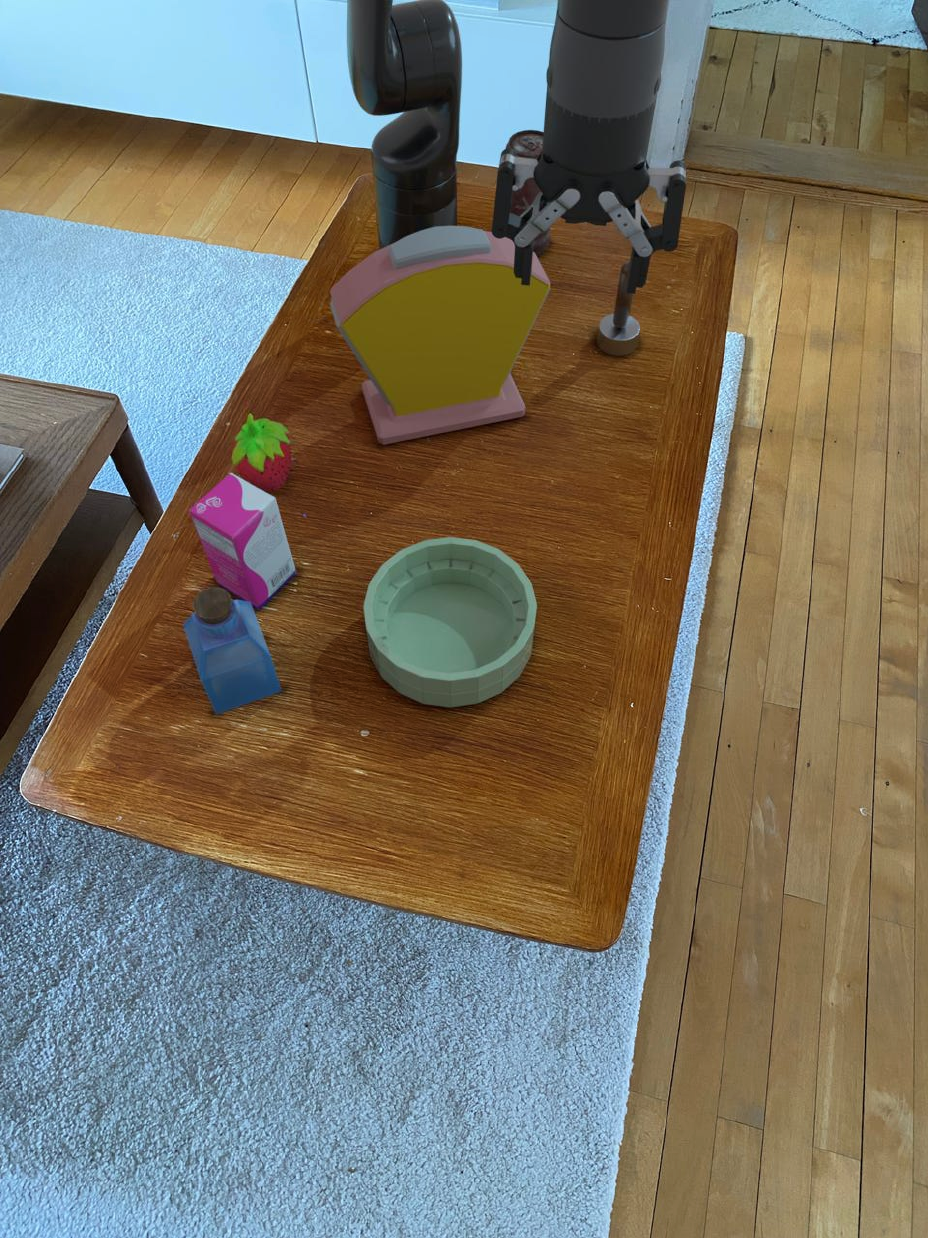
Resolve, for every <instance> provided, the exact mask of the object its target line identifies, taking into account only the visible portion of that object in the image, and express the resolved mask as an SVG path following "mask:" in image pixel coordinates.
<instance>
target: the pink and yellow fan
mask: <svg viewBox="0 0 928 1238" xmlns="http://www.w3.org/2000/svg"><path fill="white" fill-rule="evenodd" d="M514 256H515V244H514V242H513V241H512V240H511V239H509V238H506V237H504V238H501V239H498V238H495V237H494V236H493V235H492V231H487V230H483V229H481V228H476V227H472V226H464V225H457V226H437V227H432V228H429V229H425V230H421V231H419V232H416V233H414V234H411V235H409V236H406V237H404V238H402V239H401V240H399V241H397V242H395V243H393V244H391V245H389V246H387V247H384V248H382V249H380V250H379V249H377V250H375V251H374V252H372V253H370V254H369V255H367V257H365V258H364V259H363V260H361V261H360V262H359V263H357V264H356V265H355V266H353V267H352V268H351V269H349V270H348V271H347V272H346V273H345V274H344V275H343V276H342V277H341V278H340V279H339V280H338V281H337V282H336V283H335V284H334V285H333V286H331V288H330V290H329V293H330V297H331V299H330V302H329V307H330V309H331V312H332V316H333V319H334V322H335V326H336V328H337V329H338V331H339V333H340V334H341V336H342V338H343V339H344V341H345V342H346V344H347V345H348V347H349V349H350V351H352V353H353V354H354V357H355V358H356V359H357V361H358V363H359V364H360V365H361V367H362V369H363V370H364V371H365V373H366V375H367V376H368V377H369V379H368V380H365V381H363V382H362V383H361V388H362V390H361V391H362V393H363V396H364V400H365V403H366V407H367V409H368V412H369V415H370V418H371V422H372V425H373V428H374V431H375V435H376V437H377V441H378V443H379V444H381V445H383V446H384V445H389V444H394V443H399V442H404V441H409V440H414V439H419V438H424V437H428V436H434V435H438V434H443V433H449V432H454V431H458V430H463V429H469V428H473V427H478V426H484V425H487V424H492V423H498V422H503V421H508V420H513V419H518V418H522V417H524V415H525V414H526V405H525V403H524V400H523V398H522V396H521V394H520V392H519V389H518V387H517V385H516V382H515V380H514V378H513V375H512V373H511V372H512V370H513V369H514V366H515V363H516V362H517V360H518V357H519V356H520V353H521V351H522V349H523V347H524V345H525V343H526V341H527V339H528V337H529V335H530V333H531V330H532V328H533V327H534V324H535V323H536V320H537V318H538V316H539V314H540V311H541V310H542V307H543V305H544V304H545V302H546V299H547V297H548V295H549V293H550V291H551V281H550V279H549V277H548V275H547V273H546V271H545V269H544V267H543V266H542V264H541V261H540V259H539V258H538V256H536V254H535V253H534V252H533V259H532V271H531V279H530V286H527V285H521V280H522V278H516V277H515V275H514Z"/></svg>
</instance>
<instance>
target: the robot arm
mask: <svg viewBox="0 0 928 1238" xmlns="http://www.w3.org/2000/svg"><path fill="white" fill-rule="evenodd" d="M346 1H347V2H346V3H347V4H346V58H347V67H348V74H349V80H350V85H351V89H352V91H353V96H354V97H355V100H356V102H357V103H358V105H359V107H360V108H361V110H363V111H364V112H365V113H366V114H368V115H371V116H375V117H376V116H377V117H381V116H384V117H385V116H390V115H398V114H399V116H396V117H395V118H394V119H392V121H390V122H389V123H387V124H385V125H384V126H383V127H382V128H380V130H378V131H377V133H376V134H375V136H374V138H373V140H372V143H371V149H370V156H371V167H372V181H373V189H374V190H373V191H374V203H375V214H376V228H377V238H378V239H377V240H378V241H377V242H378V250H380V249H382V248H384V247H387V246H389V245H391V244H393V243H395V242H397V241H399V240H401V239H402V238H404V237H406V236H409V235H411V234H414V233H416V232H419V231H421V230H425V229H429V228H432V227H437V226H458V174H457V173H458V169H457V167H458V166H457V165H458V160H457V159H458V151H459V147H460V128H461V127H460V126H461V125H460V121H461V103H462V102H461V101H462V88H463V48H462V39H461V34H460V28H459V25H458V22H457V20H456V16H455V13H454V12H453V10H452V8H451V7H450V6H449V4H448V3H446V2H445V1H444V0H413V1H407V2H402V3H396V4H393V2H394V0H346ZM556 2H557V3H556V13H555V20H554V24H553V28H552V33H551V40H550V44H549V45H550V46H549V53H548V55H549V57H548V66H547V68H546V74H545V75H546V77H545V78H546V93H545V107H544V108H545V109H544V119H543V123H544V124H543V131H542V132H543V146H542V151H541V153H540V155H539V156H538V158H537V159H529V158H522V157H517V154H516V152H515V151H514V150H513V149H510V148H507V149H505V148H504V149H503V150H502V151H501V153H500V157H499V162H498V167H497V173H496V174H497V175H496V184H495V195H494V205H493V214H492V225H491V232H492V235H493V236H494V237H495V238H498V239H501V238H504V237H506V238H509V239H511V240H512V241H513V242H514V244H515V256H514V275H515V277H516V278H522V280H521V285H527V286H530V279H531V271H532V259H533V245H534V239H535V238H536V237H537V236H538V235H539V234H540V233H541V232H545V231H546V230H547V229H548V228H549V227H550V228H551V227H552V226H553V225H554V224H555V223H556V222H557V221H558V220H559V219H560V218H561V219H562V220H565V221H564V223H565V224H583V223H587V224H591V225H594V226H600V227H607V224H608V223H611V222H613V223H614V225H615V227H616V228H617V229H618V231H619V233H620V234H621V235H622V237H623V238H624V239H625V240H626V239H627V240H628V242H629V243H630V245H631V246H632V247H631V252H630V258H629V262H630V264H629V270H628V276H627V289H626V293H629V294H633V295H636V291H637V288H641V289H642V288H644V286H645V284H647V278H648V274H649V273H648V272H649V267H650V262H651V259H652V258H651V257H652V255H653V254H654V253H655V252H657V251H662V250H663V251H664V252H668V253H669V252H670V253H671V252H673V251H675V250H676V249H677V248H678V246H679V239H680V232H681V225H682V218H683V210H684V204H685V196H686V191H687V165H686V164H685V162H684V161H683V160H678V159H677V160H674V161H672V162H671V163H670V164H669V167H650V165H649V163H648V160H647V157H648V151H649V147H650V140H651V133H652V127H653V121H654V118H655V117H654V116H655V111H656V104H657V98H658V94H659V93H658V92H659V91H660V88H661V85H662V69H663V63H664V56H665V47H666V25H667V16H668V11H669V7H670V6H669V5H670V0H557V1H556ZM400 113H401V114H400ZM529 178H534V181H535V183H536V185H537V186H538V188H539V189H540V191H541V192H540V193H539V194H538V195H537V196H536V198H535V199H534V201H533V203H532V204H531V205H530V206H529V207H528V208H527V209H526V211H525V212H524V213H523V214H522V215H521V216H520V217H519V216H517V215H515V214H512V213H510V210H511V202H512V193H513V191H517V190H519V189H521V188H522V187H523V185H524V182H525V181H526V180H527V179H529ZM649 187H650V188H653V190H654V191H655V194H656V198H657V200H659V201H661V202H662V203H664V206H663V214H662V221H661V224H658V225H651V224H650V222H649V221H648V219H647V217H646V215H645V214H644V213H643V210H642V207H641V204H640V202H639V198H640V197H641V196H642V195H643V194H644V193H645V192H646V191H647V190H648V188H649Z"/></svg>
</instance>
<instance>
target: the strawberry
mask: <svg viewBox="0 0 928 1238" xmlns="http://www.w3.org/2000/svg"><path fill="white" fill-rule="evenodd" d="M289 435H290V431H289V430H288V429H287V428H286V426H285V425H283V424H282V422H281V423H280V422H279V421H277V420H276V421H275V420H270V419H268V418H265V417H262V418H258V419H256V420H254V415H253V414H252V413H249V414H248V415H247V419H246V422H245V423H243V425H242V426H241V429H240V431H239V432H238V433H237V435H236V436H235V437H234V444H233V446H232V449H231V451H230V453H231V460H232V464H233V466H234V469H235V470H236V472H238V474H239V475H240V476H239V477H242V479H243V480H245V481H246V482H248V483H250V484H251V485H253V486H255V487H257V488H258V489H260V490H262V491H265V492H266V491H267V492H270V491H271V492H274V491H277V490H278V491H280V490H279V489H280V488H282V487H283V486H284V484H285V482H286V481H287V477H288V476H290V469H292V466H291V464H292V451H291V449H292V448H291V446H292V445H291V441H290V436H289Z"/></svg>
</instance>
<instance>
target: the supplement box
mask: <svg viewBox="0 0 928 1238" xmlns="http://www.w3.org/2000/svg"><path fill="white" fill-rule="evenodd" d="M188 513H189V515H190V518H191V520H192V523H193V526H194V529H195V531H196V533H197V536H198V538H199V541H200V543H201V545H202V549H203V550H204V553H205V555H206V556H205V557H206V558H207V561H208V564H209V566H210V568H211V571H212V574H213V576H214V579H215V581H216V584H217V585H218V586H220V587H222V589H224V590H226V591H227V592H229V593H231V594H233V595H234V596H236V597H237V598H239V600H242V601H247V602H251V605H252V607H253V609H256V610H258V611H259V610H261V609H262V608H263V607H264V606H265V605H266V604H267V603H268V602H270V600H271V599H272V598H273V597H275V595H276V594H278V592H279V591H280V590H281V589H282V588H283V587H285V585H286V584H287V583H288V582H289V581H291V579H292V578H293V577H294V576H295V575H297V570H296V566H295V563H294V559H293V556H292V552H291V549H290V545H289V542H288V538H287V535H286V531H285V527H284V523H283V520H282V517H281V512H280V509H279V505H278V502H277V498H276V497H275V496H273V495H272V494H269V493H267V492H266V491H265V490H261V489H259V487H257V486H255V485H251V483H250V482H249V481H247V480H244V479H243V478H241V476H238V475H236V474H234V473H233V472H229V473H228V474H227V475H226V476H225V477H224V478H223V479H221V480H220V481H219V482H218V483H217V484H216V485H215V486H214V487H213V488H212V489H210V491H208V492H207V493H206V494H205V495H204V496H202V498H200V499H199V500H198V501H197V502H196V503H195V504H194V505H193V506H191V507H190V508H189V509H188Z"/></svg>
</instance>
